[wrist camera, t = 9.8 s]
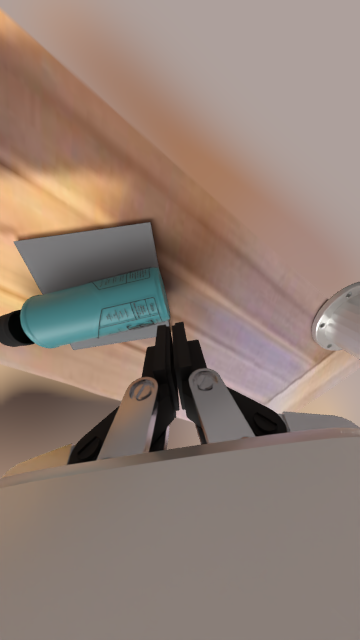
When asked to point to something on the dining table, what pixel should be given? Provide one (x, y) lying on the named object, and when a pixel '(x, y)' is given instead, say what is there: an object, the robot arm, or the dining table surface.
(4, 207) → the dining table surface
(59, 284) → the mat
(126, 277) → the beverage bottle
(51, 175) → the dining table surface
